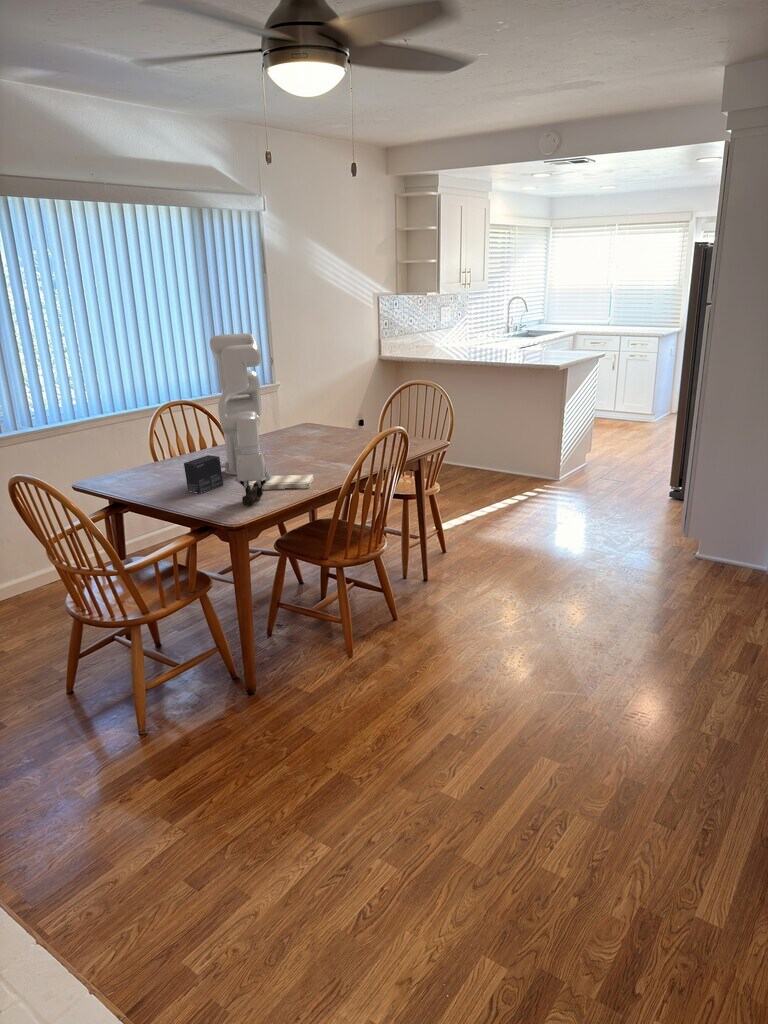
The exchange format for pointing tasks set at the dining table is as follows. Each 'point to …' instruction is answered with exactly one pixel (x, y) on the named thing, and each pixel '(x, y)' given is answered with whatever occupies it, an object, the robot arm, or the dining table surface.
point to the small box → (203, 473)
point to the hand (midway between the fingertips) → (254, 496)
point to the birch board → (287, 482)
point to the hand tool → (250, 495)
